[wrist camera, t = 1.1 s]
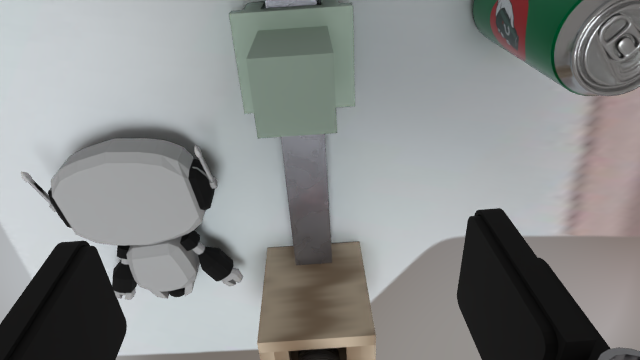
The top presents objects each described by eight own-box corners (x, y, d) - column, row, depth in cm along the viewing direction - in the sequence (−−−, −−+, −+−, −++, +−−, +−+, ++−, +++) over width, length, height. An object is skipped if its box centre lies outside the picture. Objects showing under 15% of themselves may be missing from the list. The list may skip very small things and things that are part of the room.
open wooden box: (359, 241, 38) (375, 335, 30) (360, 291, 41) (375, 389, 33) (267, 247, 38) (257, 343, 30) (275, 297, 41) (268, 396, 33)
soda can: (499, 56, 30) (601, 126, 20) (454, 3, 28) (540, 51, 18) (563, -3, 28) (711, 42, 18) (519, -62, 27) (656, -51, 16)
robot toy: (253, 259, 40) (205, 113, 32) (249, 299, 36) (193, 145, 28) (123, 277, 41) (42, 138, 32) (106, 318, 37) (8, 172, 28)
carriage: (347, -4, 28) (366, 28, 20) (349, 88, 31) (366, 148, 23) (236, 3, 28) (209, 38, 20) (250, 94, 31) (231, 158, 23)
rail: (329, -57, 26) (332, -54, 23) (342, 251, 39) (346, 284, 35) (246, -51, 26) (237, -47, 23) (285, 255, 39) (284, 288, 35)
